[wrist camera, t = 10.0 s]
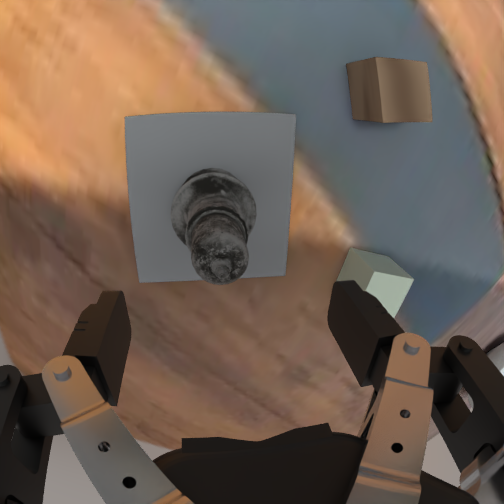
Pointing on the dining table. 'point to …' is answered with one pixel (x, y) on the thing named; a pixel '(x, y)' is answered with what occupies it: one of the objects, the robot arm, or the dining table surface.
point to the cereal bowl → (499, 356)
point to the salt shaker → (215, 223)
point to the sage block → (377, 277)
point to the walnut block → (389, 90)
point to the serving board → (203, 157)
